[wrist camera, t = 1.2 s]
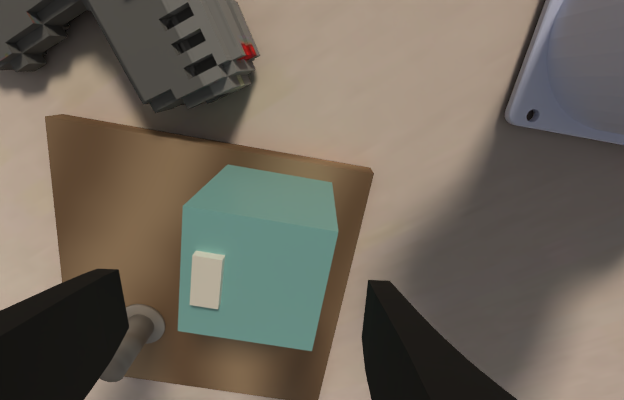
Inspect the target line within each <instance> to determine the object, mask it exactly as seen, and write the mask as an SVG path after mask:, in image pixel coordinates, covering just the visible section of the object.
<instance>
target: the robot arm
mask: <svg viewBox="0 0 624 400" xmlns="http://www.w3.org/2000/svg"><path fill="white" fill-rule="evenodd" d="M530 110H533V112H534V115H533V117H532V119H530V120H529V121H528V120H527V118H526V117H527V114H528V112H529V111H530ZM505 119H506V121H507V122H508V123H510V124H512V125H517V126H522V127H527V128H533V129H538V130H544V131H549V132H555V133H560V134H566V135H571V136H577V137H582V138H587V139H593V140H598V141H604V142H609V143H615V144H620V145H624V0H546V1H545V4H544V6H543V9H542V12H541V15H540V17H539V20H538V23H537V25H536V28H535V31H534V34H533V36H532V39H531V42H530V45H529V47H528V50H527V53H526V56H525V58H524V61H523V64H522V67H521V69H520V72H519V75H518V78H517V80H516V83H515V86H514V89H513V91H512V94H511V97H510V100H509V102H508V105H507V108H506V110H505ZM128 329H129V322H128V317H127V311H126V306H125V301H124V295H123V290H122V284H121V279H120V274H119V269H95V270H92V271H89V272H87V273H84V274H82V275H79V276H77V277H74V278H72V279H70V280H67V281H65V282H63V283H61V284H58V285H56V286H54V287H52V288H50V289H47V290H45V291H43V292H41V293H39V294H36V295H34V296H32V297H30V298H28V299H25V300H23V301H21V302H19V303H17V304H14V305H12V306H10V307H8V308H6V309H3V310H1V311H0V400H84V399H85V397H86V396H87V395H88V393H89V392H90V390H91V389H92V388H93V386H94V385H95V383H96V382H97V380H98V379H99V378H100V376H101V375H102V373H103V372H104V371H105V369H106V368H107V366H108V365H109V363H110V362H111V360H112V359H113V357H114V355H115V353H116V351H117V350H118V348H119V346H120V344H121V342H122V340H123V338H124V337H125V335H126V333H127V331H128ZM362 344H363V354H364V363H365V371H366V376H367V381H368V385H369V390H370V394H371V399H372V400H517V399H516V398H515V397H513V396H512V395H511V394H509V393H508V392H507V391H505V390H504V389H503V388H502V387H500V386H499V385H498V384H497V383H495V382H494V381H493V380H492V379H490V378H489V377H488V376H487V375H485V374H484V373H483V372H482V371H480V370H479V369H478V368H477V367H476V366H474V365H473V364H472V363H471V362H470V361H469V360H467V359H466V358H465V357H464V356H463V355H462V354H461V353H460V352H459V351H457V350H456V349H455V348H454V347H453V346H452V345H451V344H450V343H449V342H448V341H447V340H445V339H444V338H443V337H442V336H441V335H440V334H439V333H438V332H437V331H436V330H435V329H434V328H433V327H432V326H431V325H430V324H429V323H428V322H427V321H426V320H425V319H424V318H423V317H422V316H421V315H420V314H419V312H418V311H417V310H416V309H415V308H414V307H413V306H412V305H411V304H410V303H409V302H408V301H407V300H406V298H405V297H404V296H403V295H402V294H401V293H400V292H399V291H398V290H397V288H396V287H395V286H394V285H393V284H392V283H391V282H390V281H379V280H368V287H367V296H366V305H365V313H364V322H363V331H362Z"/></svg>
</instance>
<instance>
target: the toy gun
mask: <svg viewBox="0 0 624 400" xmlns="http://www.w3.org/2000/svg"><path fill="white" fill-rule="evenodd" d="M86 10H88V11H91V12H92V14H93V15H94V17H95V19H96V21H97V23H98V24H99V26H100V28H101V30H102V31H103V33H104V35H105V37H106V39H107V40H108V42H109V44H110V46H111V48H112V49H113V51H114V53H115V55H116V57H117V58H118V60H119V62H120V64H121V65H122V67H123V69H124V71H125V73H126V74H127V76H128V78H129V80H130V82H131V83H132V85H133V87H134V89H135V91H136V92H137V94H138V96H139V98H140V100H141V101H142V103H143V104H148V103H150V105H151V106H152V108H153V110H154V112H155V113H157V112H161V111H165V110H169V109H172V108H174V107H177V106H179V105H182V104H185V105H186V107H187V109H189V108H192V107H195V106H197V105H199V104H201V103H203V102H205V101H206V102H207V103H211V102H213V101H215V100H217V99H220V98H222V97H224V96H226V95H228V94H230V93H233V92H235V91H237V90H239V89H241V88H243V87H245V86H248V85H250V84H252V83H251V81H250V79H249V77H248V75H249V74H251V73H250V72H252V71H255V70H256V69H255V67H254V65H253V62H252V61H253V60H254V58H256V57H258V56H260V54H259V52H258V50H257V47H256V45H255V42H254V40H253V38H252V35H251V33H250V31H249V28H248V26H247V24H246V21H245V19H244V17H243V14H242V12H241V10H240V7H239V5H238V3H237V2H236V1H234V0H0V70H15V72H25V71H35V70H37V69H39V68H40V67H42V66H43V65H45V64H47V63H46V61H45V59H44V58H43V55H45V54H47V53H46V50H47V49H49V48H51V47H52V46H54V45H55V44H57V43H58V42H60V41H62V40H63V39H65V38H66V37H68V36H67V34H66V33H65V30H66V29H68V28H69V27H70V26H69V24H68V23H67V22H69V21H70V20H72V19H74V18H75V17H77V16H78V15H80V14H81V13H83V12H84V11H86Z"/></svg>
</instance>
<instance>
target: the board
mask: <svg viewBox="0 0 624 400" xmlns="http://www.w3.org/2000/svg"><path fill="white" fill-rule="evenodd" d="M45 122H46V131H47V141H48V150H49V160H50V169H51V179H52V188H53V198H54V208H55V217H56V227H57V236H58V246H59V255H60V265H61V274H62V283H63V282H65V281H67V280H70V279H72V278H74V277H77V276H79V275H82V274H84V273H87V272H89V271H92V270H95V269H119V274H120V279H121V284H122V290H123V295H124V301H125V306H126V311H127V317H128V322H129V329H128V331H127V333H126V335H125V337H124V338H123V340H122V342H121V344H120V346H119V348H118V350H117V351H116V353H115V355H114V357H113V359H112V360H111V362H110V363H109V365H108V366H107V368H106V369H105V371H104V372H103V373H102V375H101V376H100V379H102V380H104V381H107V382H117V381H119V380H121V379H122V378H123V377H124V376H125V377H132V378H139V379H146V380H153V381H160V382H167V383H174V384H181V385H188V386H194V387H201V388H208V389H215V390H222V391H229V392H236V393H243V394H250V395H257V396H264V397H271V398H278V399H285V400H318V398H319V394H320V390H321V386H322V382H323V378H324V374H325V370H326V366H327V361H328V357H329V353H330V349H331V345H332V341H333V337H334V333H335V329H336V325H337V321H338V317H339V313H340V309H341V305H342V301H343V297H344V293H345V288H346V284H347V280H348V276H349V272H350V268H351V264H352V260H353V256H354V252H355V248H356V244H357V240H358V236H359V232H360V228H361V224H362V219H363V215H364V211H365V207H366V203H367V199H368V195H369V191H370V187H371V183H372V179H373V175H374V173H373V172H372V170H371V168H367V167H362V166H356V165H350V164H345V163H339V162H333V161H327V160H322V159H316V158H310V157H304V156H299V155H293V154H287V153H282V152H276V151H270V150H264V149H259V148H253V147H247V146H242V145H236V144H230V143H224V142H219V141H213V140H207V139H201V138H196V137H190V136H184V135H179V134H173V133H167V132H161V131H156V130H150V129H144V128H138V127H133V126H127V125H121V124H116V123H110V122H104V121H98V120H93V119H87V118H81V117H76V116H70V115H64V114H61V115H53V116H46V117H45ZM227 165H234V166H240V167H246V168H251V169H257V170H263V171H269V172H275V173H280V174H286V175H292V176H298V177H304V178H309V179H315V180H321V181H327V182H332V185H333V193H334V201H335V209H336V217H337V224H338V236H337V241H336V245H335V250H334V254H333V259H332V263H331V268H330V272H329V277H328V281H327V286H326V290H325V295H324V299H323V304H322V308H321V313H320V317H319V322H318V326H317V331H316V335H315V340H314V344H313V349H312V351H307V350H300V349H294V348H287V347H280V346H274V345H267V344H260V343H254V342H247V341H241V340H234V339H227V338H221V337H214V336H207V335H201V334H194V333H188V332H181V331H178V312H179V287H180V262H181V237H182V212H183V205H184V204H185V203H186V202H188V201H189V200H190V199H191V198H192V197H193V196H194V195H195V194H196V193H197V192H198V191H199V190H201V189H202V188H203V187H204V186H205V185H206V184H207V183H208V182H209V181H210V180H211V179H212V178H214V177H215V176H216V175H217V174H218V173H219V172H220V171H221V170H222V169H223V168H224V167H225V166H227Z"/></svg>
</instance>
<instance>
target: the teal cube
mask: <svg viewBox="0 0 624 400" xmlns="http://www.w3.org/2000/svg"><path fill="white" fill-rule="evenodd" d="M337 236H338V224H337V217H336V209H335V201H334V193H333V185H332V182H327V181H321V180H315V179H309V178H304V177H298V176H292V175H286V174H280V173H275V172H269V171H263V170H257V169H251V168H246V167H240V166H234V165H227V166H225V167H224V168H223V169H222V170H221V171H220V172H219V173H218V174H217V175H216V176H215V177H214V178H212V179H211V180H210V181H209V182H208V183H207V184H206V185H205V186H204V187H203V188H202V189H201V190H199V191H198V192H197V193H196V194H195V195H194V196H193V197H192V198H191V199H190V200H189V201H188V202H186V203H185V204H184V205H183V212H182V237H181V262H180V287H179V312H178V331H181V332H188V333H194V334H201V335H207V336H214V337H221V338H227V339H234V340H241V341H247V342H254V343H260V344H267V345H274V346H280V347H287V348H294V349H300V350H307V351H312V349H313V344H314V340H315V335H316V331H317V326H318V322H319V317H320V313H321V308H322V304H323V299H324V295H325V290H326V286H327V281H328V277H329V272H330V268H331V263H332V259H333V254H334V250H335V245H336V241H337Z"/></svg>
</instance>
